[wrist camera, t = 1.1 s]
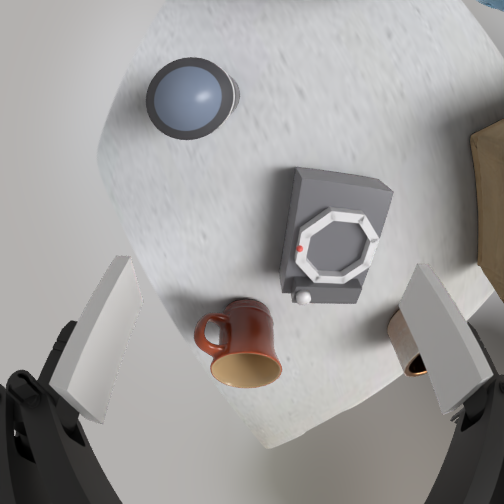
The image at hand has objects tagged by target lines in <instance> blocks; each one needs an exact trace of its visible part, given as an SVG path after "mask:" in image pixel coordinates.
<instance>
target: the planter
mask: <svg viewBox="0 0 504 504" xmlns="http://www.w3.org/2000/svg"><path fill="white" fill-rule="evenodd" d="M387 332H388V336H389V338H390V340H391V343H392V345H393V347H394V350H395V352H396V354H397V357H398V359H399V361H400V364H401V366H402V369H403V372H404V374H405V375H406V376H408V377H416V376H420V375H424V374H426V373H428V372H427V370H426V367H425V365H424V362H423V360H422V357H421V355H420V352H419V350H418V347H417V345H416V343H415V340H414V338H413V336H412V334H411V331H410V329H409V327H408V325H407V323H406V320H405V318H404V316H403V314H402V312H401V310H400V309H399V310H398V311H397V312H396V313H395V315H394V316H393V317H392V319H391V320H390V322H389V324H388V328H387Z"/></svg>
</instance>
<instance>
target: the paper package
mask: <svg viewBox="0 0 504 504" xmlns="http://www.w3.org/2000/svg"><path fill="white" fill-rule="evenodd" d="M470 143H471V150H472V156H473V162H474V170H475V178H476V189H477V204H478V263H477V265H478V266H481V268H482V270H483V272H484V274H485V275H486V277H487V278H488V280H489V281H490V283H491V284H492V286H493V287H494V289H495V290H496V292H497V294H498V295H499V297H500V299H501V300H502V301H503V303H504V119H502V120H500V121H498V122H496V123H494V124H492V125H490V126H488V127H486V128H484V129H482V130H480V131H478V132H476V133H474V134H472V135H471V138H470Z"/></svg>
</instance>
